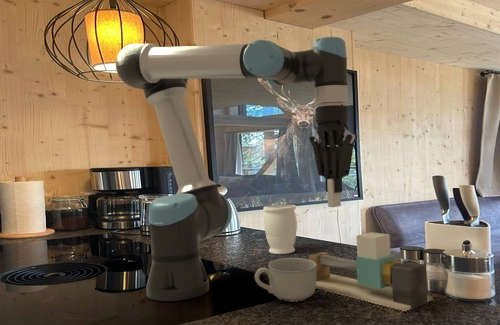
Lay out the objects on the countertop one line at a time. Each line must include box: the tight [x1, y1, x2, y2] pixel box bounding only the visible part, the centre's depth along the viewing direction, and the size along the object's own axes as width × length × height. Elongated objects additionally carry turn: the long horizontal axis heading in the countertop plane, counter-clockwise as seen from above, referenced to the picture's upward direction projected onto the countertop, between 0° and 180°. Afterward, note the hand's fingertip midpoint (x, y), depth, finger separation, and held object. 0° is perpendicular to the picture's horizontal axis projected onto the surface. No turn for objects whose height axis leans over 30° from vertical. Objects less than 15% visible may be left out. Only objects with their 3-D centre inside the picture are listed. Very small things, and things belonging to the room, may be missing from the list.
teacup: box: [254, 257, 317, 301], centre depth 105 cm, size 14×11×8 cm
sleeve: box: [355, 231, 397, 289], centre depth 102 cm, size 6×6×10 cm
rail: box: [308, 251, 434, 311], centre depth 105 cm, size 10×28×8 cm, turn 38°
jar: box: [263, 203, 298, 255], centre depth 153 cm, size 11×10×15 cm
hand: (334, 206), depth 110 cm, fingers closed
